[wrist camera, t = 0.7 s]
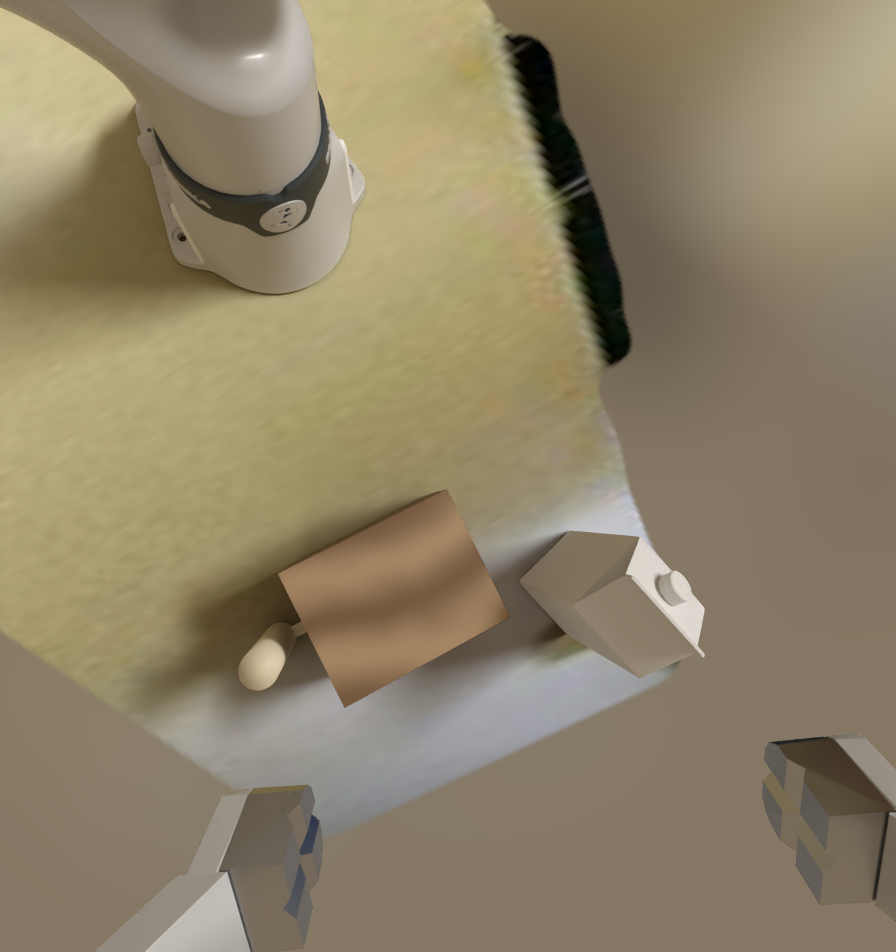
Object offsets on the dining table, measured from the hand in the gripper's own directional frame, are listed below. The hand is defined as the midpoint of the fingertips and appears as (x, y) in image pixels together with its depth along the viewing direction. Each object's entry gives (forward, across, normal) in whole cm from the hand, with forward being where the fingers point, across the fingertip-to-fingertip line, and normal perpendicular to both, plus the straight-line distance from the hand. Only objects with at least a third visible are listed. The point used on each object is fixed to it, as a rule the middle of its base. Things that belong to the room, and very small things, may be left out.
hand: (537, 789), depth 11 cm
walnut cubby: (+40, +8, +16) cm, 44 cm away
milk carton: (+43, -8, +19) cm, 48 cm away
